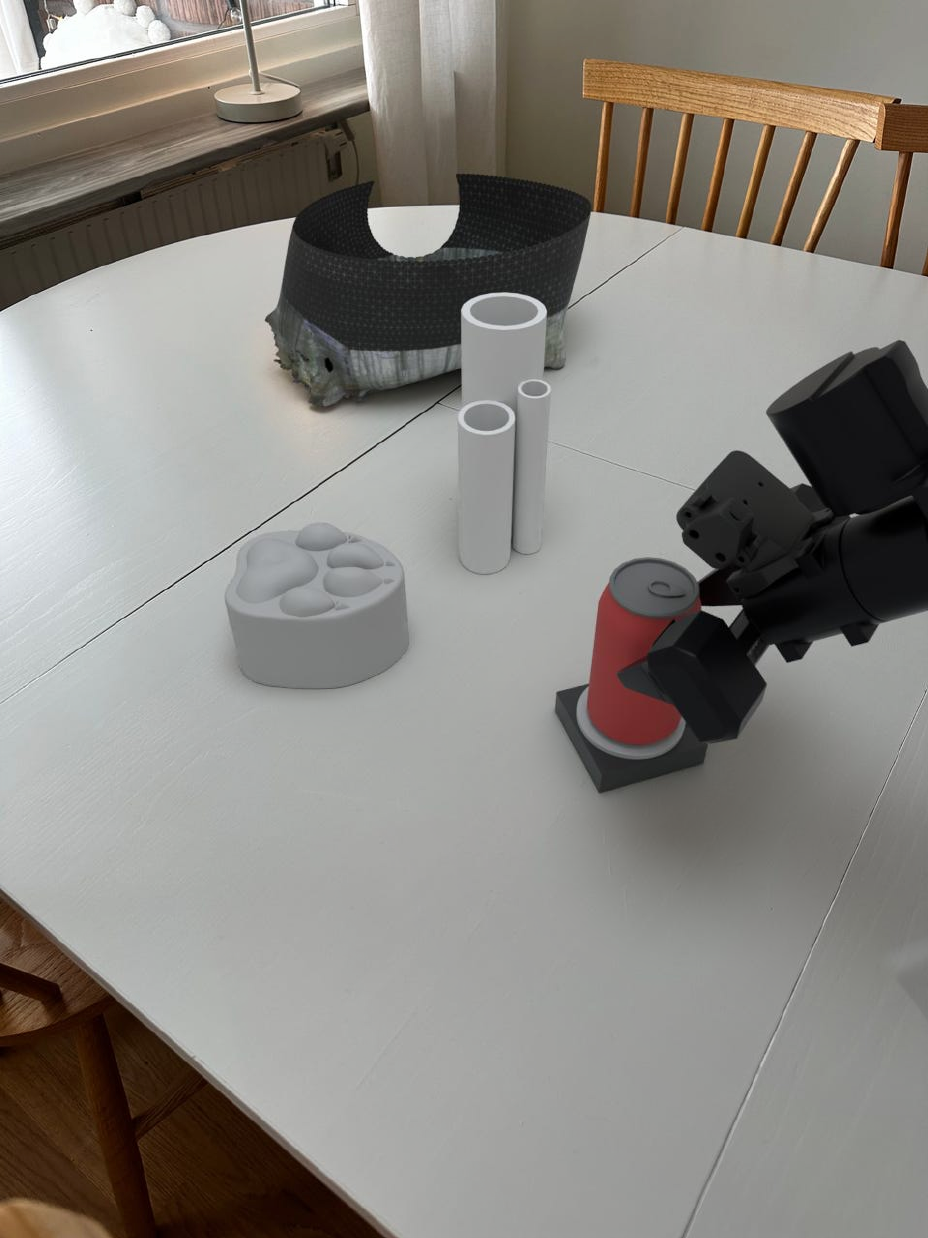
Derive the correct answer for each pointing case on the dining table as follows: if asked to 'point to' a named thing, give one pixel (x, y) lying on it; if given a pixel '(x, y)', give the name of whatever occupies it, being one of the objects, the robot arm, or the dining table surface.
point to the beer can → (636, 646)
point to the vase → (502, 429)
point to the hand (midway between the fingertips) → (656, 637)
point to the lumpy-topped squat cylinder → (316, 608)
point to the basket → (418, 284)
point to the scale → (623, 746)
